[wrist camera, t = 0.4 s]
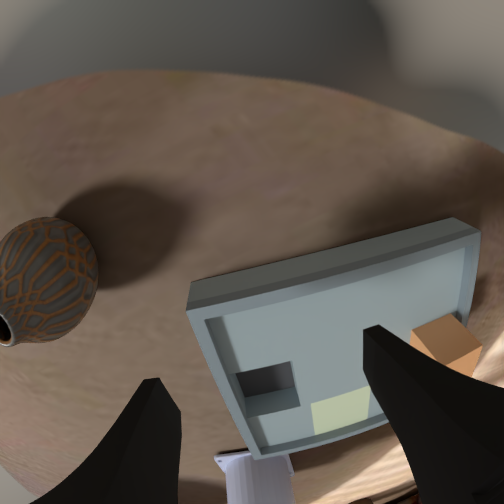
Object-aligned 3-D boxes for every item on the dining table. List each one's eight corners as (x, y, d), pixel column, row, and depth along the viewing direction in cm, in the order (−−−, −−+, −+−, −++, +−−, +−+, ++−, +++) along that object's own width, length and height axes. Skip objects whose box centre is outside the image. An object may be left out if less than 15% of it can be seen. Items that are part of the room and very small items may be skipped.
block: (443, 349, 21) (469, 381, 17) (406, 365, 21) (430, 402, 17) (450, 313, 19) (482, 345, 15) (411, 329, 19) (442, 367, 15)
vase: (74, 185, 16) (-16, 228, 8) (130, 273, 18) (82, 363, 10) (16, 238, 17) (-60, 294, 8) (67, 312, 19) (15, 392, 11)
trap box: (430, 376, 26) (444, 396, 23) (251, 433, 26) (254, 460, 23) (452, 216, 19) (481, 231, 16) (190, 282, 19) (185, 310, 16)
